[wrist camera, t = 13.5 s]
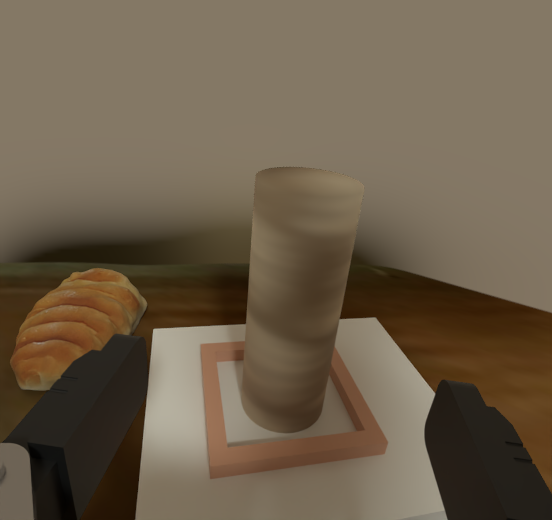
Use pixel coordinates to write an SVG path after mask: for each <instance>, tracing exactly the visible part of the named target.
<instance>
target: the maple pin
mask: <svg viewBox="0 0 552 520" xmlns="http://www.w3.org/2000/svg"><path fill="white" fill-rule="evenodd" d="M364 189H365V187H364V185H363V184H362V183H361V182H360V181H358V180H356V179H354V178H352V177H349V176H346V175H343V174H340V173H336V172H331V171H326V170H321V169H312V168H303V167H277V168H269V169H265V170H262V171H260V172H258V173H257V174H256V178H255V193H254V208H253V224H252V239H251V241H252V242H251V256H250V270H249V286H248V301H247V317H246V332H245V348H244V364H243V379H242V395H241V402H242V407H243V409H244V411H245V413H246V415H247V416H248V417H249V418H250V419H251V420H252V421H253V422H254V423H255V424H257V425H258V426H260V427H262V428H264V429H266V430H269V431H272V432H277V433H295V432H299V431H302V430H305V429H307V428H309V427H310V426H312V425H313V424H314V423H315V422H316V421H317V420H318V418H319V417H320V415H321V412H322V408H323V403H324V398H325V392H326V387H327V382H328V377H329V372H330V366H331V361H332V356H333V351H334V346H335V340H336V335H337V330H338V325H339V320H340V314H341V309H342V304H343V299H344V293H345V288H346V283H347V278H348V273H349V267H350V262H351V257H352V252H353V246H354V241H355V236H356V231H357V226H358V220H359V215H360V210H361V205H362V200H363V194H364Z"/></svg>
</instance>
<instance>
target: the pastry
mask: <svg viewBox="0 0 552 520" xmlns="http://www.w3.org/2000/svg"><path fill="white" fill-rule="evenodd" d="M146 307H147V302H146V300H145V299H144V298H143V297H142V296H141V295H140V294H139V292H138V290H137V289H136V288H135V287H134V286H133V285H132V284H131V283H130V282H129V280H128V278H127V277H125V276H124V275H123V274H121V273H118V272H115V271H112V270H107V269H101V268H95V269H90V270H88V271H86V272H81V273H80V272H74V273H72V274H71V276H70V277H69V278H68V279H65V280H64V281H63V282H62V283H61V285H60V286H59V287H58V288H57V289H55V290H53V291H51V292H49V293H48V294H46V296H45V297H43V298H42V299H40V300H39V301H38V302H37V303H36V304H35V306H34V308H33V310H32V311H31V312H30V313H29V314H28V315H27V318H26V320H25V321H24V323H23V324H22V326H21V327H20V331H19V334H18V336H17V338H16V347H15V350H14V353H13V356H12V358H11V360H10V365H11V367H12V369H13V371H14V373H15V375H16V378H17V382H18V385H19V387H20V388H21V389H30V390H50V388H51V386H52V385H53V384H54V383H55V382H56V381H57V380H58V379H60V378H61V375H62V374H63V373H64V371H65V370H66V369H67V368H68V367H69V366H70V365H71V363H72V362H73V361H74V360H76V359H78V358H79V357H81V356H82V355H84V354H86V353H87V352H89V351H91V350H99V351H101V350H102V348H103V347H104V346H105V345H106V343H107V342H108V341H109V340H110V338H111V337H112V336H113V335H114V334H124V335H132V334H133V332H134V331H135V329H136V327H137V325H138V324H139V322H140V319H141V317H142V316H143V314H144V312H145V310H146Z"/></svg>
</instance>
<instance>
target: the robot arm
mask: <svg viewBox="0 0 552 520" xmlns="http://www.w3.org/2000/svg"><path fill="white" fill-rule="evenodd" d="M147 387H148V370H147V353H146V341H145V339H144V337H139V336H131V335H124V334H114V335H113V336H112V337H111V338H110V340H109V341H108V342H107V343H106V345H105V346H104V347H103V348H102V350H101V351H99V350H91V351H89V352H87V353H86V354H84V355H82V356H81V357H79V358H78V359H76V360H74V361H73V362H72V363H71V365H70V366H69V367H68V368H67V369H66V370H65V371H64V373H63V374H62V375H61V378H60V379H58V380H57V381H56V382H55V383H54V384H53V385H52V386H51V388H50V391H49V392H48V391H47V392H46V393H45V394H44V396H43V397H42V398H41V399H40V400H39V401H38V402H37V404H36V405H35V406H34V407H33V408H32V409H31V410H30V412H29V413H28V414H27V415H26V416H25V417H24V419H23V420H22V421H21V422H20V423H19V424H18V425H17V427H16V428H15V429H14V430H13V431H12V432H11V433H10V435H9V436H8V437H7V438H6V439H5V440H4V441H3V442H2V443H0V520H80V518H81V516H82V514H83V512H84V511H85V509H86V507H87V505H88V503H89V501H90V500H91V498H92V496H93V494H94V492H95V490H96V488H97V487H98V485H99V483H100V481H101V479H102V477H103V476H104V474H105V472H106V470H107V468H108V466H109V464H110V463H111V461H112V459H113V457H114V455H115V453H116V452H117V450H118V448H119V446H120V444H121V442H122V440H123V439H124V437H125V435H126V433H127V431H128V429H129V428H130V426H131V424H132V422H133V420H134V418H135V417H136V415H137V413H138V411H139V409H140V407H141V405H142V403H143V401H144V399H145V396H146V392H147ZM424 439H425V445H426V449H427V453H428V456H429V459H430V463H431V466H432V469H433V473H434V476H435V479H436V483H437V486H438V489H439V493H440V496H441V499H442V503H443V506H444V509H445V513H446V516H447V519H448V520H552V494H551V492H550V490H549V489H548V487H547V485H546V483H545V481H544V480H543V478H542V476H541V474H540V473H539V471H538V469H537V467H536V466H535V464H532V459H531V457H530V455H529V453H528V452H527V450H526V448H523V443H522V441H521V439H520V438H519V436H518V434H517V432H516V431H515V429H514V427H513V425H512V424H511V423H510V422H509V421H508V420H507V419H506V418H505V417H504V416H503V415H502V414H501V413H500V412H499V411H498V410H497V409H496V408H495V407H488V406H486V404H485V402H484V401H483V399H482V397H481V395H480V393H479V391H478V389H477V387H476V386H475V385H474V384H470V383H463V382H456V381H449V380H442V381H441V382H440V383H439V385H438V388H437V391H436V394H435V396H434V399H433V402H432V405H431V408H430V411H429V413H428V416H427V419H426V422H425V428H424Z"/></svg>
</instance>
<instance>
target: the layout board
mask: <svg viewBox="0 0 552 520" xmlns="http://www.w3.org/2000/svg"><path fill="white" fill-rule="evenodd" d="M245 332H246V324H241V325H221V326H202V327H183V328H163V329H153V339H152V350H151V360H150V371H149V381H148V392H147V402H146V413H145V423H144V434H143V444H142V455H141V465H140V476H139V486H138V497H137V507H136V518H135V520H448V519H447V516H446V513H445V509H444V506H443V503H442V499H441V496H440V493H439V489H438V486H437V483H436V479H435V476H434V473H433V469H432V466H431V463H430V459H429V456H428V453H427V449H426V445H425V439H424V428H425V422H426V419H427V416H428V413H429V411H430V408H431V405H432V402H433V399H434V396H435V393H434V392H433V390H432V389H431V388H430V387H429V385H428V384H427V383H426V381H425V380H424V379H423V378H422V376H421V375H420V374H419V373H418V371H417V370H416V369H415V367H414V366H413V365H412V364H411V362H410V361H409V360H408V359H407V357H406V356H405V355H404V353H403V352H402V351H401V350H400V348H399V347H398V346H397V344H396V343H395V342H394V341H393V339H392V338H391V337H390V336H389V334H388V333H387V332H386V330H385V329H384V328H383V327H382V325H381V324H380V323H379V322H378V320H377V319H376V318H356V319H340V320H339V325H338V330H337V335H336V340H335V346H334V351H333V356H332V361H331V366H330V372H329V377H328V382H327V387H326V392H325V398H324V403H323V408H322V412H321V415H320V417H319V418H318V420H317V421H316V422H315V423H314V424H313V425H312V426H310V427H309V428H307V429H305V430H302V431H299V432H295V433H277V432H272V431H269V430H266V429H264V428H262V427H260V426H258V425H257V424H255V423H254V422H253V421H252V420H251V419H250V418H249V417H248V416H247V415H246V413H245V411H244V409H243V407H242V402H241V395H242V379H243V364H244V348H245Z"/></svg>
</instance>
